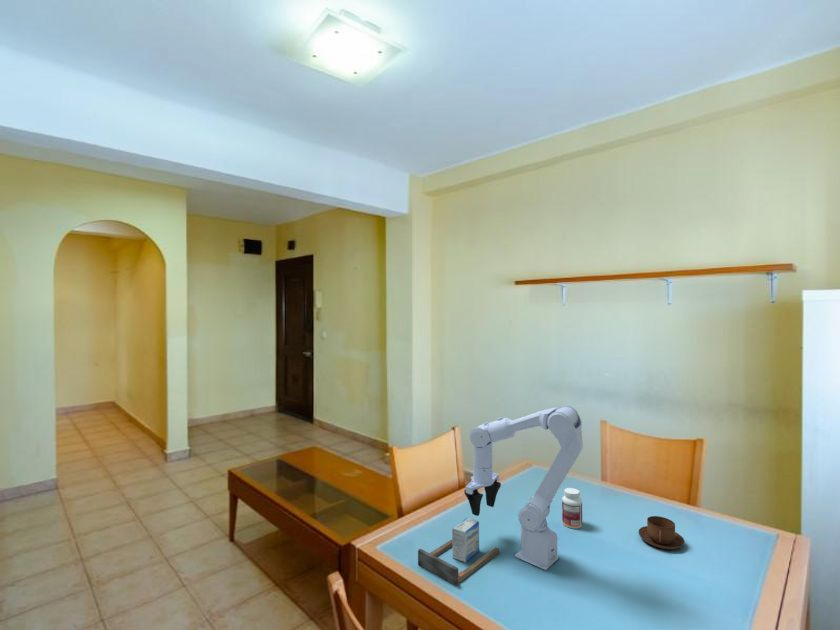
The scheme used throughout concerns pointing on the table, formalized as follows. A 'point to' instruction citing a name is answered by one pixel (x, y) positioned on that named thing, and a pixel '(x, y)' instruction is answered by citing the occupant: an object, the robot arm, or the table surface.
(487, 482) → the robot arm
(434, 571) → the u-shaped wooden frame
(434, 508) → the table surface
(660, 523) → the cup and saucer
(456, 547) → the medicine box
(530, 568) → the table surface
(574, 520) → the pill bottle
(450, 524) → the table surface
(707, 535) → the table surface
